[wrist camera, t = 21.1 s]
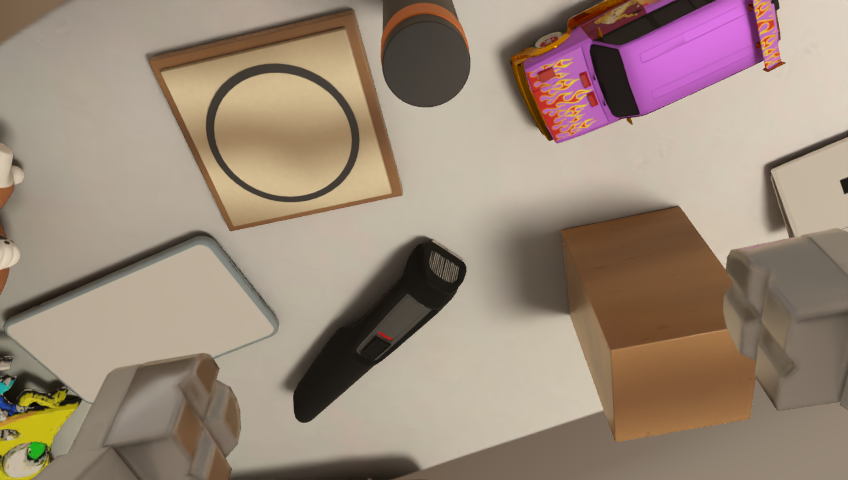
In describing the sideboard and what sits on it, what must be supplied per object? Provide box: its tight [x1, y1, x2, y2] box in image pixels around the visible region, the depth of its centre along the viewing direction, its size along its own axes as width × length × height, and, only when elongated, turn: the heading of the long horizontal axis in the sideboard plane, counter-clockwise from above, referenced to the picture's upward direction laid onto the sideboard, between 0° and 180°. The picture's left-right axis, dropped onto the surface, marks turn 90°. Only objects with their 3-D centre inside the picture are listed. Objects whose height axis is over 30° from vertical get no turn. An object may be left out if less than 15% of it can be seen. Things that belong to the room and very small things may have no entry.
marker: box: [381, 0, 470, 107], centre depth 24 cm, size 3×3×11 cm
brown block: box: [561, 207, 756, 442], centre depth 35 cm, size 7×7×10 cm
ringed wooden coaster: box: [149, 9, 403, 231], centre depth 32 cm, size 10×10×1 cm
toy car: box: [510, 0, 785, 143], centre depth 29 cm, size 6×12×5 cm, turn 117°
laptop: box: [770, 137, 848, 238], centre depth 35 cm, size 7×6×2 cm
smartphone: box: [4, 236, 279, 404], centre depth 39 cm, size 8×1×15 cm
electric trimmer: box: [293, 240, 466, 423], centre depth 39 cm, size 4×16×3 cm, turn 140°
